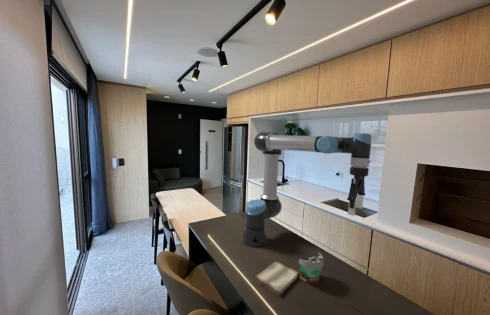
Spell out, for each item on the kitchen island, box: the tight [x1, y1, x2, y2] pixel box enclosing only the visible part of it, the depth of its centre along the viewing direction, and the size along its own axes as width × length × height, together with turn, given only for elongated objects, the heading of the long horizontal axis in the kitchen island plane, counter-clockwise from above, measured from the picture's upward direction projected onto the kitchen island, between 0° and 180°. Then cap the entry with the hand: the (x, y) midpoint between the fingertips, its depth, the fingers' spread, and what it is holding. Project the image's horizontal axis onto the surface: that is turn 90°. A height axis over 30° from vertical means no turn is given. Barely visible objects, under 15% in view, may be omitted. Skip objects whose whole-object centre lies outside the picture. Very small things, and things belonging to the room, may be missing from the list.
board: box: [254, 260, 300, 297], centre depth 87 cm, size 12×16×2 cm
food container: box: [298, 252, 325, 285], centre depth 86 cm, size 12×6×10 cm, turn 117°
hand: (355, 211), depth 95 cm, fingers open, 13 cm apart
